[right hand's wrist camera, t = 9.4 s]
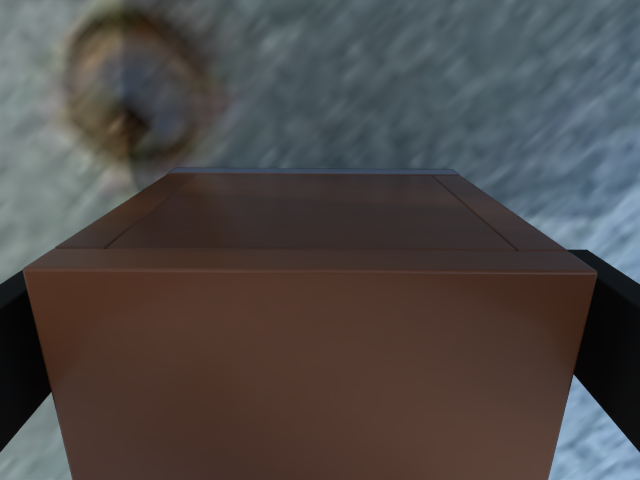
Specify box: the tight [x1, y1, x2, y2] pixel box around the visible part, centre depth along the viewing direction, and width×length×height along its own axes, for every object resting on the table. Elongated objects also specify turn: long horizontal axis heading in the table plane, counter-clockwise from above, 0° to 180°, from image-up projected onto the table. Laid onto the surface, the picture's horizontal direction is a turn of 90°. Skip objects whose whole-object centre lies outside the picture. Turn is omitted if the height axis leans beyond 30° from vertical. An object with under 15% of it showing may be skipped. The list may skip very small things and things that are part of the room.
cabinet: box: [23, 168, 597, 480], centre depth 16 cm, size 17×11×10 cm, turn 0°
